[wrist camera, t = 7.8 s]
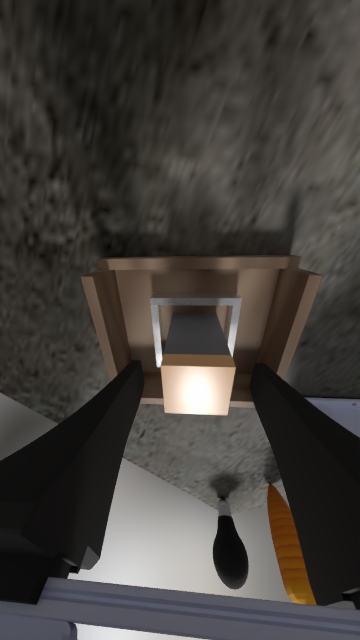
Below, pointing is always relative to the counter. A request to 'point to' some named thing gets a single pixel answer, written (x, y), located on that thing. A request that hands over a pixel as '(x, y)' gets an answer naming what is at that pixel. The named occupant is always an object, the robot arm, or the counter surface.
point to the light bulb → (229, 550)
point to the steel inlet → (194, 299)
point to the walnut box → (201, 310)
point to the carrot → (288, 549)
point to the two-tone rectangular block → (197, 366)
